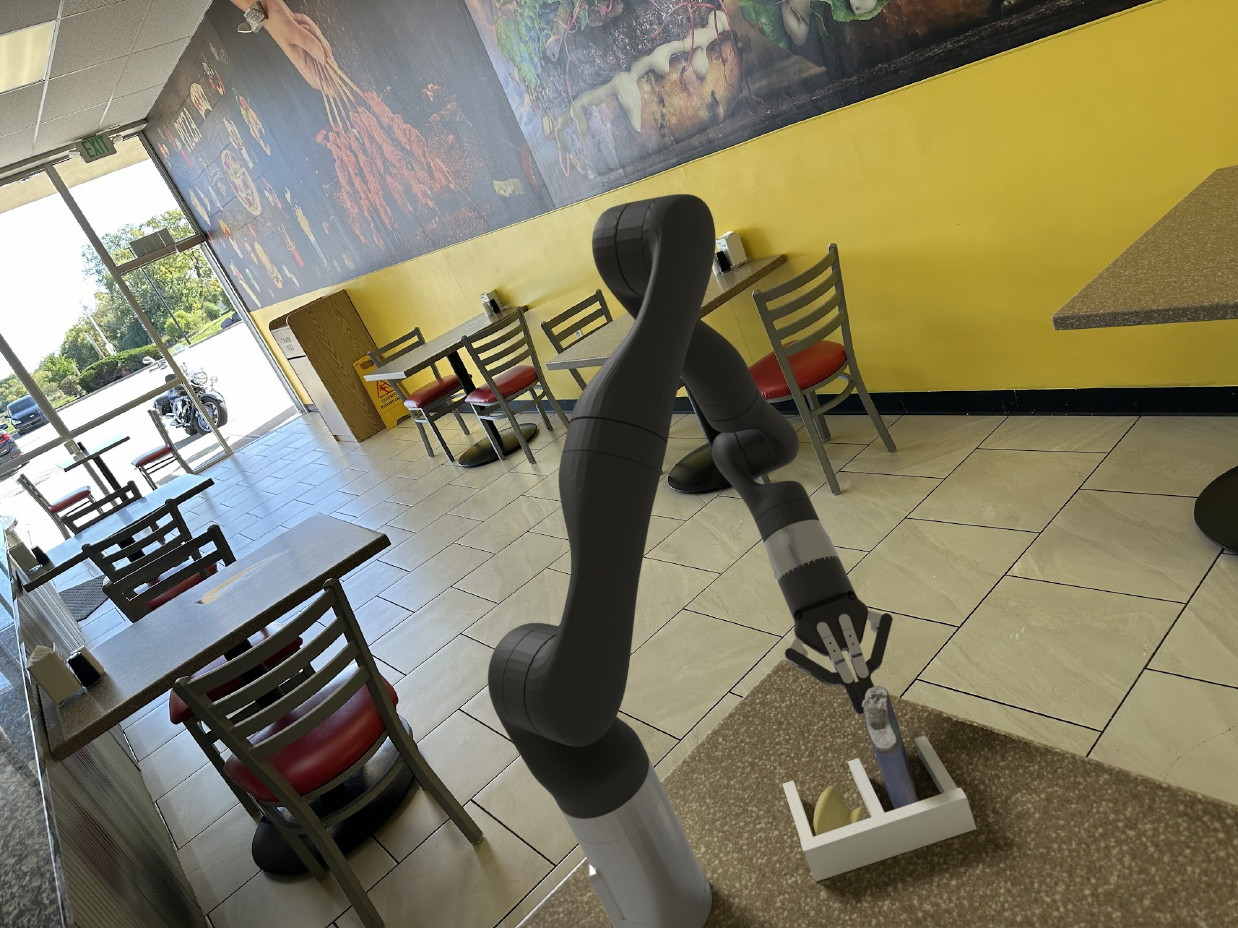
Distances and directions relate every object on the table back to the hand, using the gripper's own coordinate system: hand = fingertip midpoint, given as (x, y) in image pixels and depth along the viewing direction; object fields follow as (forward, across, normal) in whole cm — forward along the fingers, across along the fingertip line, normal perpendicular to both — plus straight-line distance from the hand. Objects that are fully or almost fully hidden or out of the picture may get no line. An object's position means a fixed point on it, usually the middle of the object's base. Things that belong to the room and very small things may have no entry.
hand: (872, 716), depth 84 cm
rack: (+9, -4, -2) cm, 10 cm away
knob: (+10, -7, -2) cm, 12 cm away
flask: (+7, 0, 0) cm, 7 cm away
